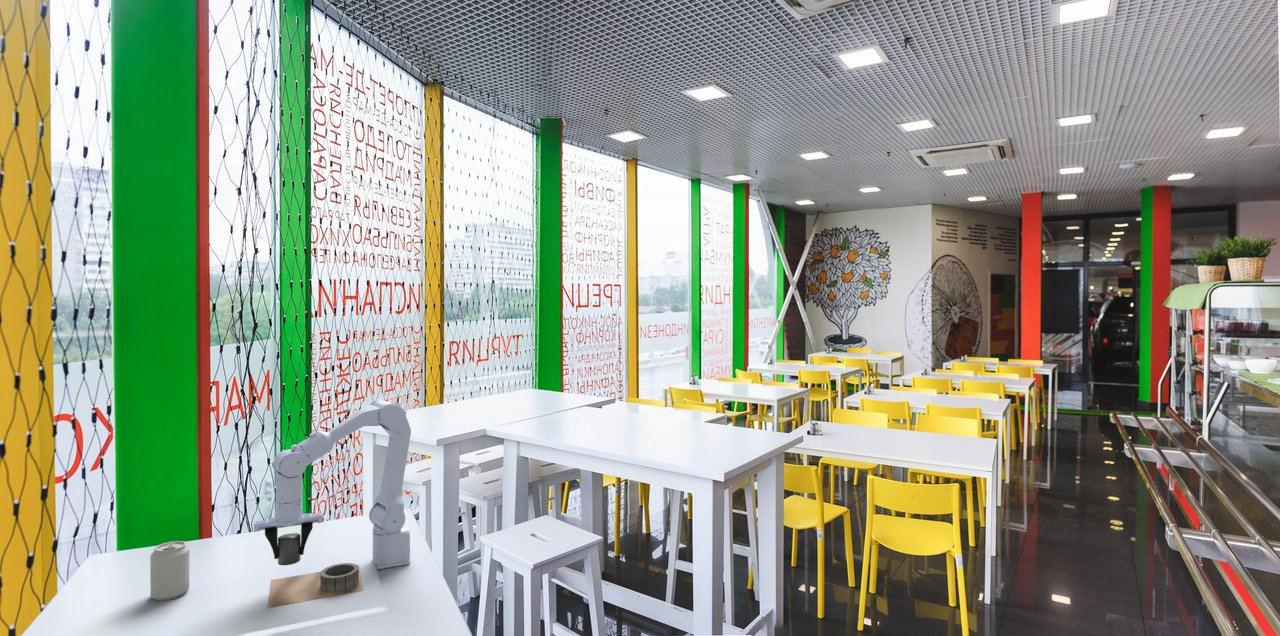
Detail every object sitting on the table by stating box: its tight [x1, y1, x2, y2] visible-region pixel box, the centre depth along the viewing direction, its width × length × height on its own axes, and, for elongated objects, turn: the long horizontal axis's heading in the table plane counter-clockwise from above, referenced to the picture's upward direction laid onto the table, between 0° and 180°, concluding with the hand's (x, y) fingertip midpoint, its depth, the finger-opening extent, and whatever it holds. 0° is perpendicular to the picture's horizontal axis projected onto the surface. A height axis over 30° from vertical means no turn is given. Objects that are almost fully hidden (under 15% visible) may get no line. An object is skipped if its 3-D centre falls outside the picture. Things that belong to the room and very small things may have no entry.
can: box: [149, 540, 190, 601], centre depth 148 cm, size 8×8×12 cm
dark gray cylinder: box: [277, 532, 301, 566], centre depth 151 cm, size 5×5×6 cm
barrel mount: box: [267, 562, 364, 609], centre depth 152 cm, size 20×16×4 cm
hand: (289, 555), depth 151 cm, fingers closed on dark gray cylinder, 5 cm apart
